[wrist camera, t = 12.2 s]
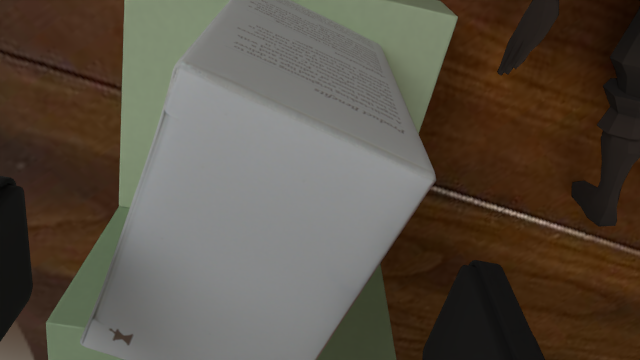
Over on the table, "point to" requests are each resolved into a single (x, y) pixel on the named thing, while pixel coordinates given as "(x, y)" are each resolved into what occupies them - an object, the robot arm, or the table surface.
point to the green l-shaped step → (146, 107)
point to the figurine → (617, 123)
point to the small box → (262, 193)
